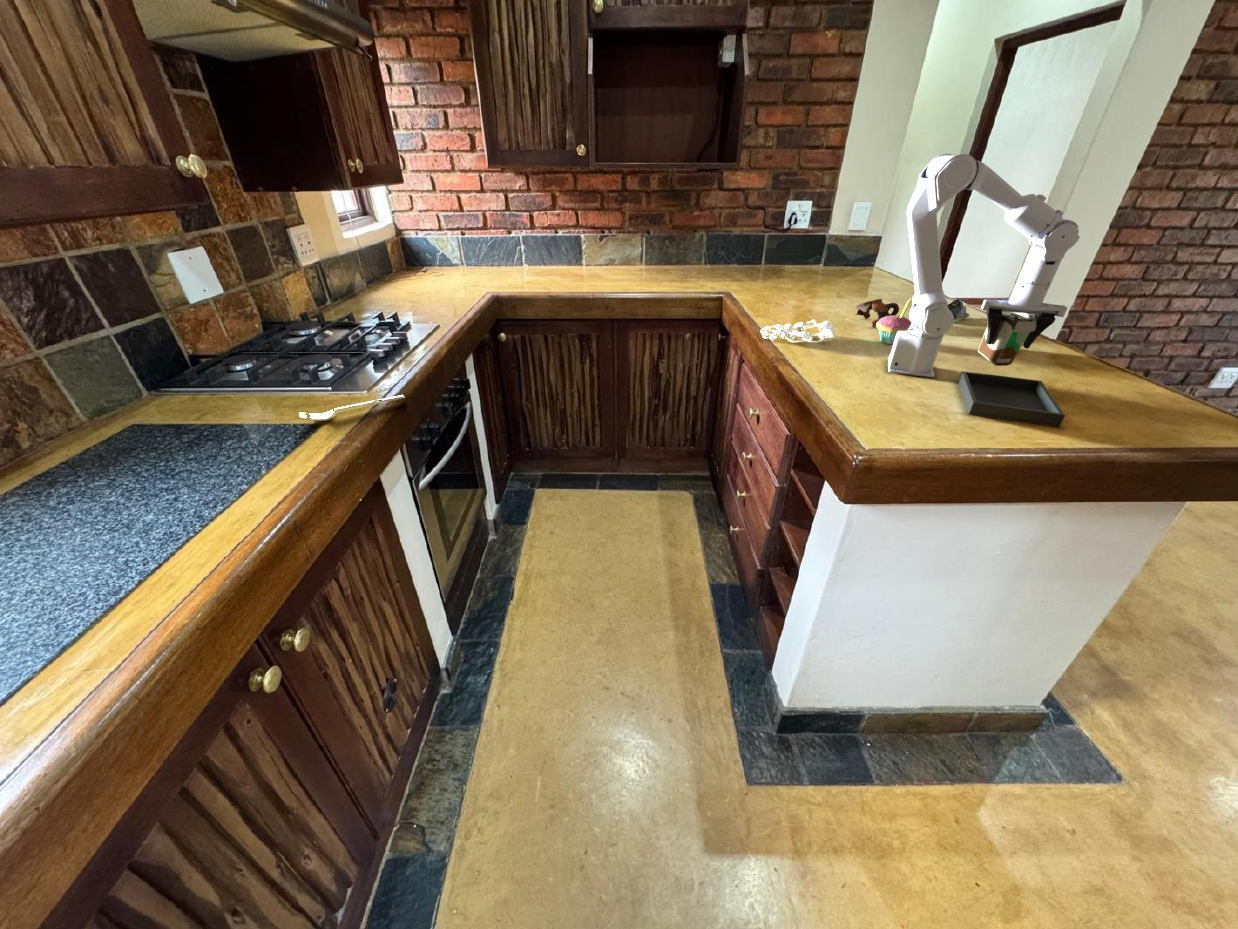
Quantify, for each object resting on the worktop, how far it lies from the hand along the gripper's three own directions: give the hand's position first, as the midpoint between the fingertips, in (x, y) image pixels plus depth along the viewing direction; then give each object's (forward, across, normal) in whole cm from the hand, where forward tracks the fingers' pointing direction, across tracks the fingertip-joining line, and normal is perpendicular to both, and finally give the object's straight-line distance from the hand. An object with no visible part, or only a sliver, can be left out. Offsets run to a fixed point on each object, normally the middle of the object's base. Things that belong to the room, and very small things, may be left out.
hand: (1006, 345), depth 109 cm
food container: (+4, 0, 0) cm, 4 cm away
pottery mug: (+7, +26, -33) cm, 43 cm away
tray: (+7, +1, +17) cm, 18 cm away
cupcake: (+7, +22, -16) cm, 28 cm away
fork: (+8, +125, +72) cm, 144 cm away
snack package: (+7, +5, -46) cm, 47 cm away
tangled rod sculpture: (+7, +45, -9) cm, 46 cm away
